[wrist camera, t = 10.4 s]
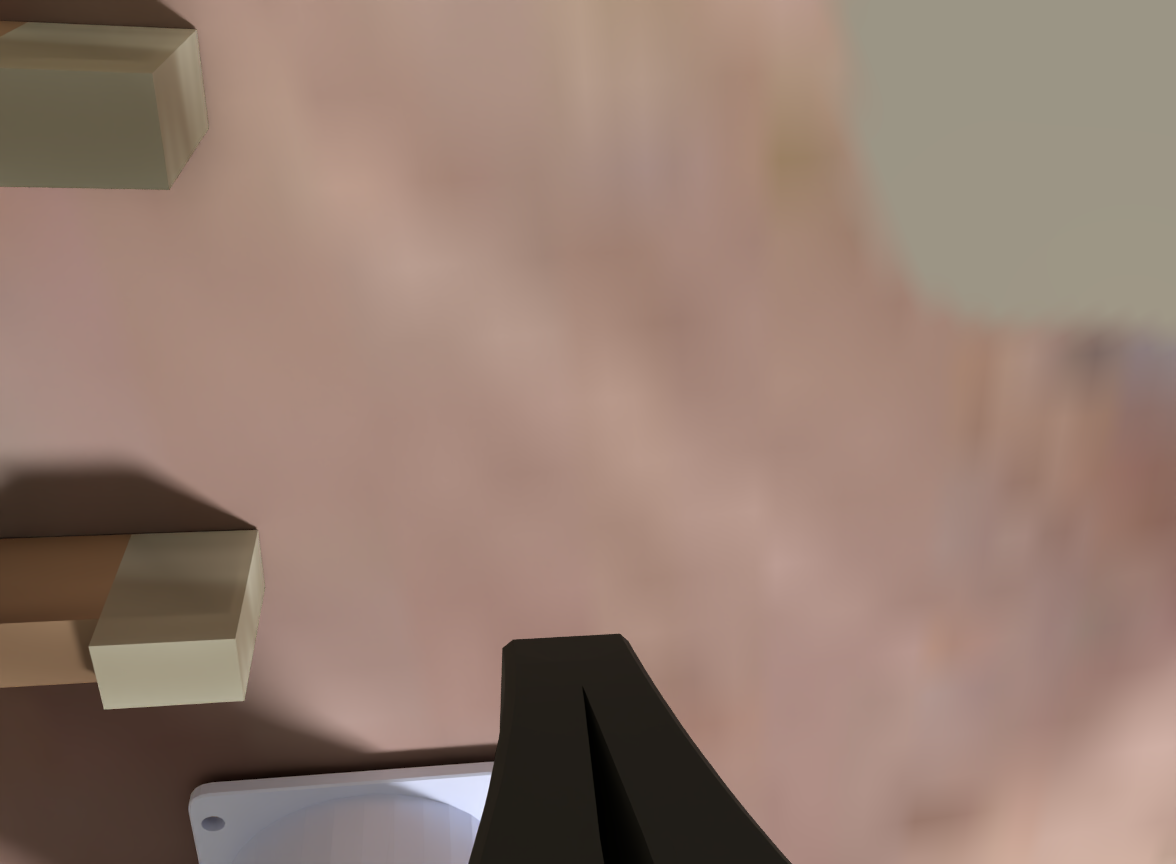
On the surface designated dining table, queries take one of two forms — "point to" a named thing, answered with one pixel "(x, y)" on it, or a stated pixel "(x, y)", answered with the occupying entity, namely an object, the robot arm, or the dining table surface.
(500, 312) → the dining table surface
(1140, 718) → the dining table surface
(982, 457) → the dining table surface
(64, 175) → the walnut rails
